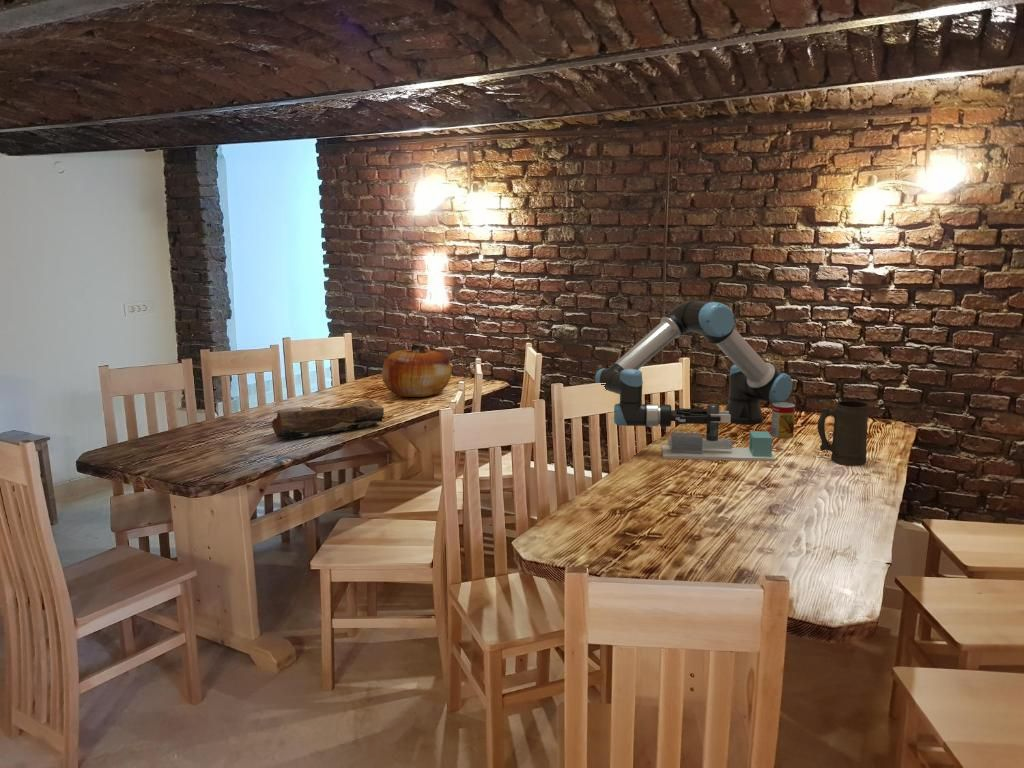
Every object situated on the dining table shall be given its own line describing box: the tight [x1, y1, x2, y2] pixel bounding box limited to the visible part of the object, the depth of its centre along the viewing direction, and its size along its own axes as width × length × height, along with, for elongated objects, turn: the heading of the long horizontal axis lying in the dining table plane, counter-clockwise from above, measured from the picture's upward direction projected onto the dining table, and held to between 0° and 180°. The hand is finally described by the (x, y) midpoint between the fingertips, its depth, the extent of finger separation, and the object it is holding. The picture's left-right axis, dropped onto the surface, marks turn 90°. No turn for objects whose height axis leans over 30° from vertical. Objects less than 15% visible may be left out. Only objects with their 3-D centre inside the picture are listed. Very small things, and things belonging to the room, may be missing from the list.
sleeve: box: [670, 431, 703, 454], centre depth 254 cm, size 10×6×6 cm, turn 81°
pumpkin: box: [381, 343, 453, 398], centre depth 355 cm, size 33×33×25 cm
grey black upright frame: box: [667, 403, 733, 450], centre depth 253 cm, size 21×4×15 cm, turn 81°
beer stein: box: [817, 400, 870, 467], centre depth 242 cm, size 15×11×20 cm
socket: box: [748, 430, 773, 457], centre depth 251 cm, size 6×8×6 cm
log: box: [270, 398, 385, 440], centre depth 293 cm, size 42×18×15 cm, turn 121°
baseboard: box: [661, 445, 777, 463], centre depth 254 cm, size 36×12×1 cm, turn 81°
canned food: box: [770, 401, 796, 440], centre depth 274 cm, size 8×8×12 cm
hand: (729, 416), depth 250 cm, fingers closed on grey black upright frame, 4 cm apart
